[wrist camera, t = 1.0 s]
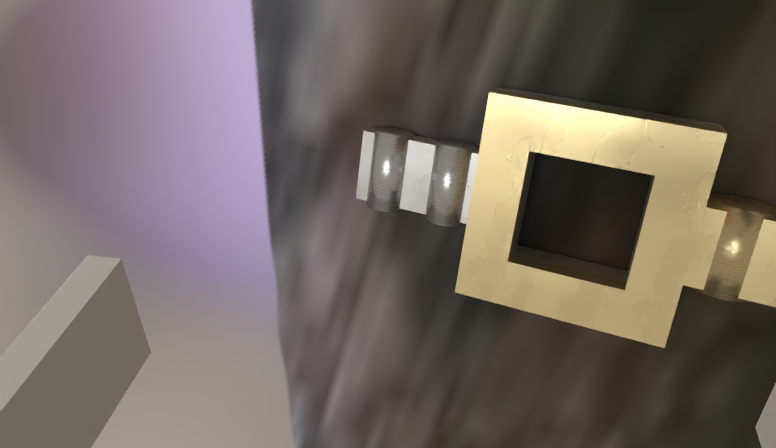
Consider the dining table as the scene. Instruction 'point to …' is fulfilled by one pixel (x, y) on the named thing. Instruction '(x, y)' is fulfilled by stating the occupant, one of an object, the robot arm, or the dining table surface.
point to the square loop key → (566, 274)
